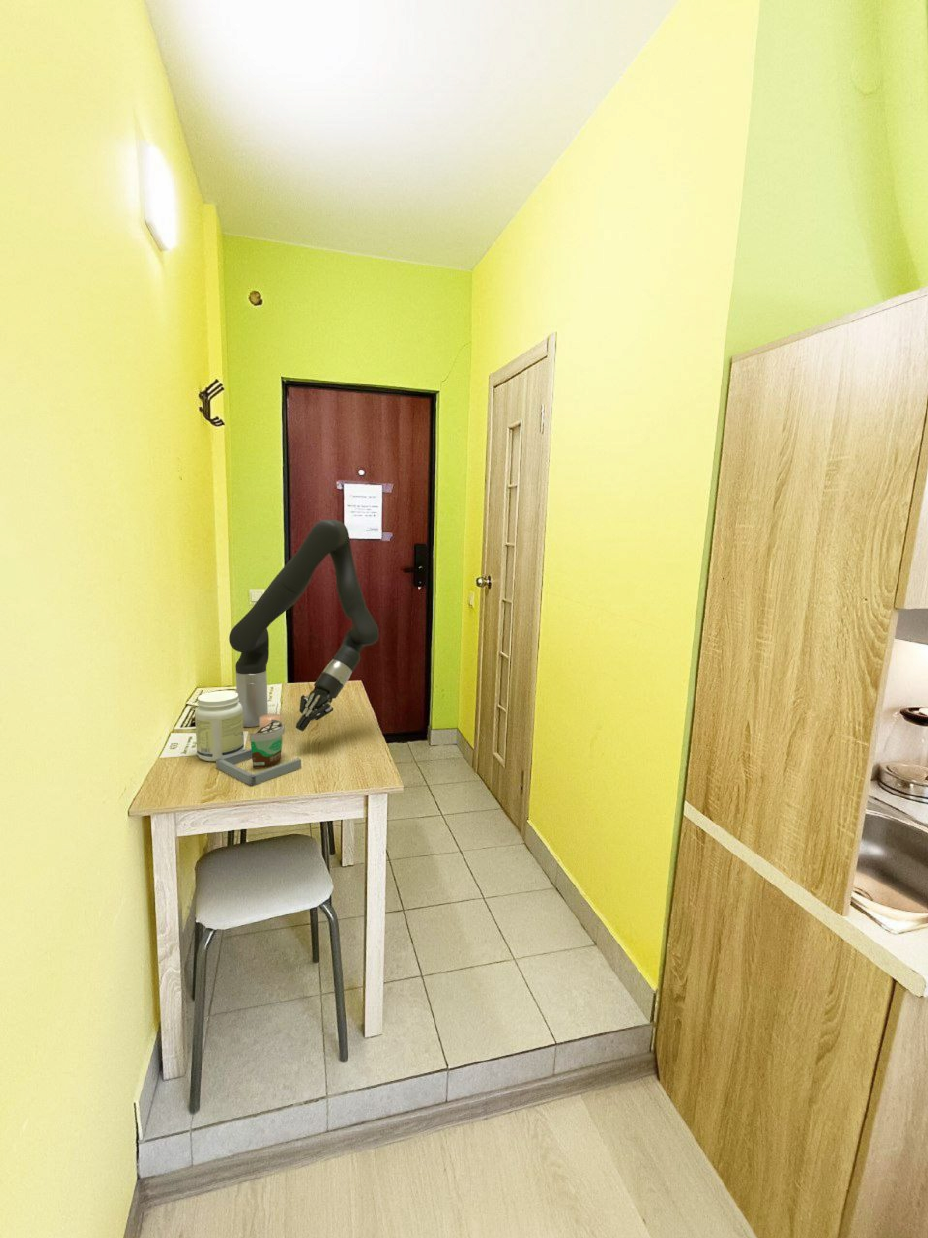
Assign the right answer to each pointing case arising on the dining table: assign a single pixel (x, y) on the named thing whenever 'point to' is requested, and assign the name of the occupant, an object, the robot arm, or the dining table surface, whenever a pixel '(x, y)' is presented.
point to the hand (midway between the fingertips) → (299, 729)
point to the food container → (267, 745)
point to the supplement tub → (219, 725)
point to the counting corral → (254, 779)
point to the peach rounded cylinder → (268, 719)
